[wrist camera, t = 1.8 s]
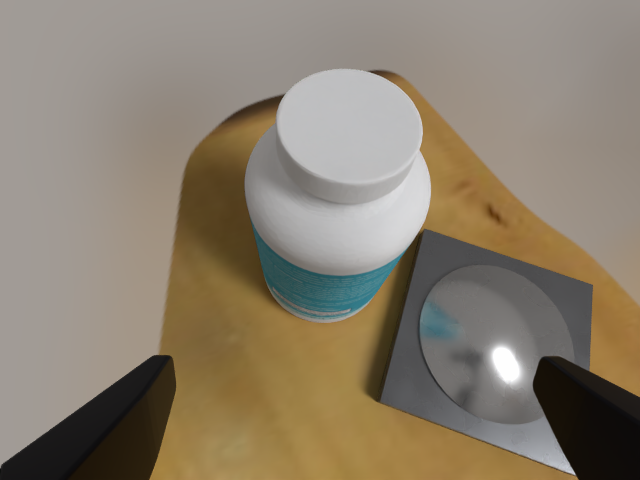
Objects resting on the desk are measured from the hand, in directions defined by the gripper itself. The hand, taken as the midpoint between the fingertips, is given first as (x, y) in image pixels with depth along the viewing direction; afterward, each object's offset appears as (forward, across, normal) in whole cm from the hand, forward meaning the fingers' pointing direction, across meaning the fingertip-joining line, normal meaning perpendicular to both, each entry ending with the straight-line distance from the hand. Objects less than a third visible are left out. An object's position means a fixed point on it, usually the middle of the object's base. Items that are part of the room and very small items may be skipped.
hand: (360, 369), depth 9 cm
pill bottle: (+14, 0, +4) cm, 15 cm away
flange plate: (+11, -10, +7) cm, 17 cm away
